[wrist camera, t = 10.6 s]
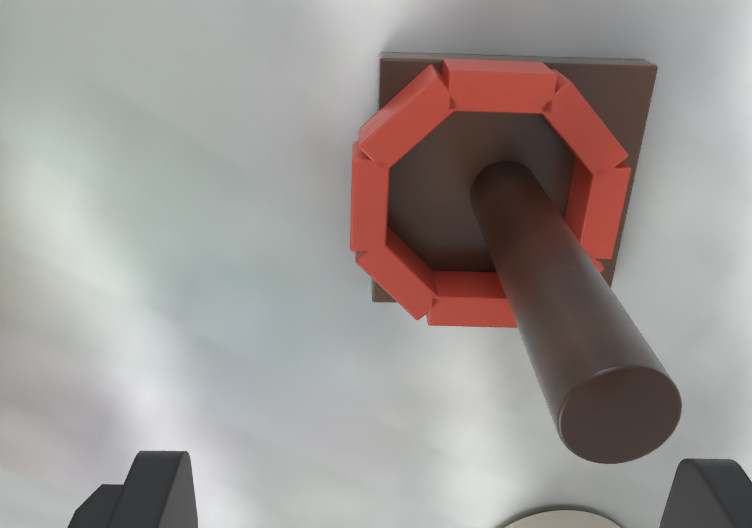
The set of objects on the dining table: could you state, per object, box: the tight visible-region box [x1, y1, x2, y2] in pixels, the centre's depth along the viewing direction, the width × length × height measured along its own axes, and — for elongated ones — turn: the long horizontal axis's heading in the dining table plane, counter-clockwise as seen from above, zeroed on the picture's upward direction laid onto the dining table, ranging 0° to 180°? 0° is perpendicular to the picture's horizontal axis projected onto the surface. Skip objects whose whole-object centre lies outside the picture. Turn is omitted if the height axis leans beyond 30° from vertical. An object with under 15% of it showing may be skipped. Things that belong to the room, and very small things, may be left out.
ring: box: [350, 58, 631, 328], centre depth 23 cm, size 9×9×2 cm
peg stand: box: [372, 52, 682, 464], centre depth 19 cm, size 9×9×13 cm
